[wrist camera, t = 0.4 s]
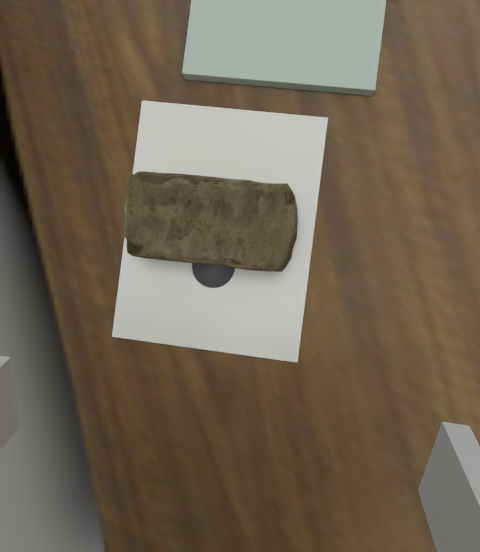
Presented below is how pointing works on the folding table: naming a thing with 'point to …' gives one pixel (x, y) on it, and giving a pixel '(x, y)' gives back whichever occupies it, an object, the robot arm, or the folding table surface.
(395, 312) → the folding table surface
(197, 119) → the board
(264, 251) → the stone block
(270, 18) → the sage pad
